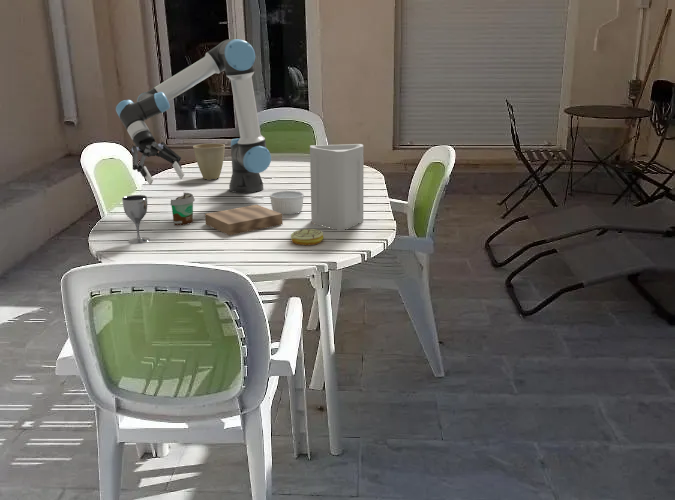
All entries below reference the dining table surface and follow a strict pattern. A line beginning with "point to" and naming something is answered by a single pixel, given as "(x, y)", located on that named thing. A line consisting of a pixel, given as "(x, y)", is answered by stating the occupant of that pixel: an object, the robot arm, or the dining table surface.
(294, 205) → the ramekin
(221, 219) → the walnut stand
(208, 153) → the plant pot
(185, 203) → the food container
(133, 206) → the wine glass
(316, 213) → the white triangular vase
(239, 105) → the robot arm
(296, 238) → the decorated donut
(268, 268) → the dining table surface
